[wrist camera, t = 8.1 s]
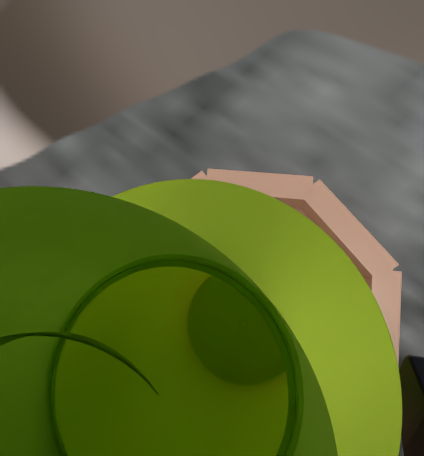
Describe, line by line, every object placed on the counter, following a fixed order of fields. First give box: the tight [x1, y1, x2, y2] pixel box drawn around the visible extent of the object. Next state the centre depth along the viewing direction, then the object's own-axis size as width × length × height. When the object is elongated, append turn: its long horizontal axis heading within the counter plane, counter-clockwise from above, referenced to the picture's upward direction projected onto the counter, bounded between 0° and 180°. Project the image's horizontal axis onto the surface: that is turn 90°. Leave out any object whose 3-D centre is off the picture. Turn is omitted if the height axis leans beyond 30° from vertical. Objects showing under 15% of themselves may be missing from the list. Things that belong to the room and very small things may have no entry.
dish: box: [192, 169, 402, 363], centre depth 17 cm, size 14×14×2 cm
